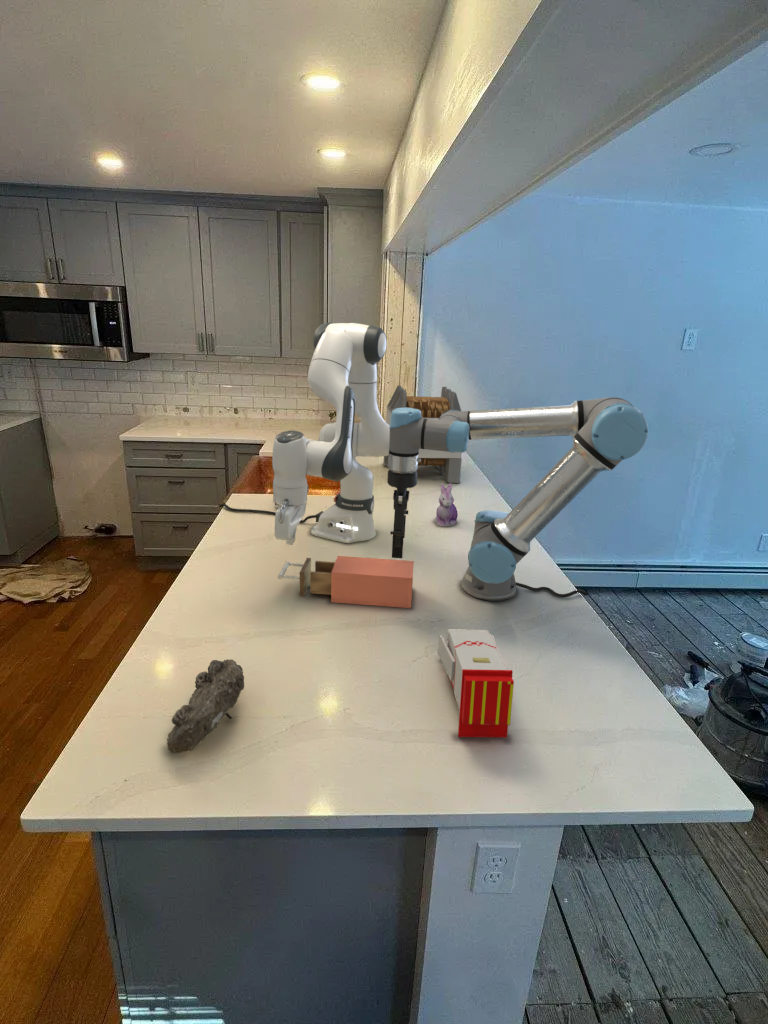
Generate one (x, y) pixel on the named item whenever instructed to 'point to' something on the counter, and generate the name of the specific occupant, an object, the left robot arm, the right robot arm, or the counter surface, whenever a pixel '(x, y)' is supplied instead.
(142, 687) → the counter surface
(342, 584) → the tall pink open box
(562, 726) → the counter surface
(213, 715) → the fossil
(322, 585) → the drawer
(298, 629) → the counter surface
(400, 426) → the right robot arm
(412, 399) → the transformer
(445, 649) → the toy
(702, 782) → the counter surface
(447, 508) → the figurine
